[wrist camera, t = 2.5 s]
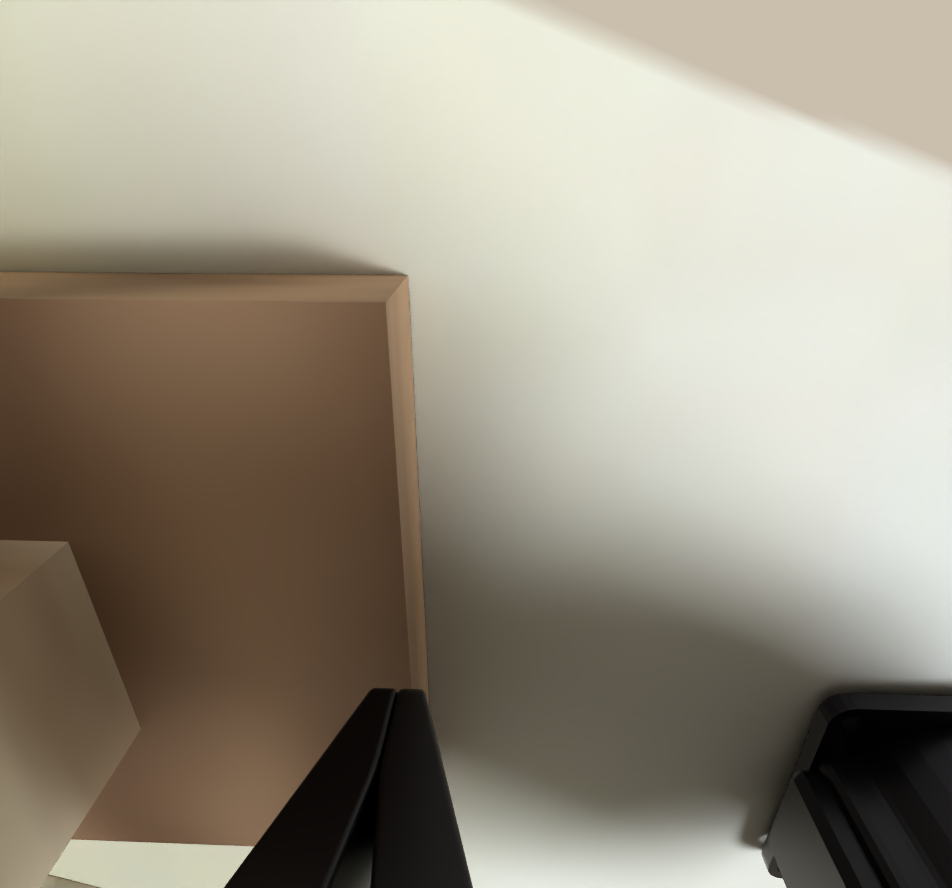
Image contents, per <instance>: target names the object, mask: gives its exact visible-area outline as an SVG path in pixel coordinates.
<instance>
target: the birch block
mask: <svg viewBox="0 0 952 888" xmlns="http://www.w3.org/2000/svg"><path fill="white" fill-rule="evenodd" d="M140 730H141V728H140V725H139V722H138V720H137V717H136V715H135V712H134V710H133V707H132V704H131V702H130V699H129V697H128V694H127V692H126V689H125V686H124V684H123V681H122V679H121V676H120V674H119V671H118V668H117V666H116V663H115V661H114V658H113V656H112V653H111V650H110V648H109V645H108V643H107V640H106V638H105V635H104V632H103V630H102V627H101V625H100V622H99V620H98V617H97V614H96V612H95V609H94V607H93V604H92V601H91V599H90V596H89V594H88V591H87V589H86V586H85V583H84V581H83V578H82V576H81V573H80V571H79V568H78V565H77V563H76V560H75V558H74V555H73V553H72V550H71V547H70V545H69V542H60V541H17V540H0V888H40V887H41V885H42V884H43V882H44V881H45V879H46V877H47V876H48V874H49V873H50V871H51V870H52V868H53V866H54V865H55V863H56V862H57V860H58V859H59V857H60V855H61V854H62V852H63V851H64V849H65V848H66V846H67V844H68V843H69V841H70V840H71V838H72V837H73V835H74V833H75V832H76V830H77V829H78V827H79V826H80V824H81V822H82V821H83V819H84V818H85V816H86V815H87V813H88V811H89V810H90V808H91V807H92V805H93V804H94V802H95V800H96V799H97V797H98V796H99V794H100V793H101V791H102V789H103V788H104V786H105V785H106V783H107V782H108V780H109V778H110V777H111V775H112V774H113V772H114V771H115V769H116V767H117V766H118V764H119V763H120V761H121V760H122V758H123V757H124V755H125V753H126V752H127V750H128V749H129V747H130V746H131V744H132V742H133V741H134V739H135V738H136V736H137V735H138V733H139V731H140Z"/></svg>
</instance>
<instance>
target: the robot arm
mask: <svg viewBox="0 0 952 888" xmlns="http://www.w3.org/2000/svg"><path fill="white" fill-rule="evenodd" d="M762 857H763V859H764V862H765V864H766V867H767V869H768V872H769V873H770V874H771V875H772V876H774V877H777V878H783V880H784V882H785V885H786V887H787V888H952V696H929V695H896V694H862V693H844V694H837V695H835V696H832V697H829V698H828V699H826V700H825V701H824V702H822V704H821V705H820V707H819V708H818V711H817V713H816V716H815V718H814V721H813V723H812V726H811V728H810V731H809V733H808V736H807V738H806V741H805V743H804V746H803V748H802V751H801V753H800V756H799V758H798V761H797V763H796V766H795V768H794V771H793V773H792V776H791V778H790V781H789V783H788V786H787V788H786V791H785V794H784V796H783V799H782V801H781V804H780V806H779V809H778V811H777V814H776V816H775V819H774V821H773V824H772V826H771V829H770V831H769V834H768V836H767V839H766V841H765V844H764V846H763V849H762ZM224 888H473V886H472V882H471V878H470V874H469V870H468V866H467V862H466V858H465V853H464V849H463V845H462V841H461V837H460V833H459V829H458V824H457V820H456V816H455V812H454V808H453V804H452V800H451V796H450V791H449V787H448V783H447V779H446V775H445V771H444V767H443V762H442V758H441V754H440V750H439V746H438V742H437V738H436V734H435V729H434V725H433V721H432V717H431V713H430V709H429V705H428V700H427V696H426V693H425V691H424V690H423V689H401V690H399V692H398V691H397V690H396V689H394V688H373V689H371V690H370V691H369V692H368V693H367V695H366V696H365V697H364V699H363V700H362V701H361V703H360V704H359V705H358V707H357V708H356V710H355V711H354V712H353V714H352V715H351V716H350V718H349V719H348V720H347V722H346V723H345V724H344V726H343V727H342V729H341V730H340V731H339V733H338V734H337V735H336V737H335V738H334V739H333V741H332V742H331V743H330V745H329V746H328V747H327V749H326V750H325V752H324V753H323V754H322V756H321V757H320V758H319V760H318V761H317V762H316V764H315V765H314V766H313V768H312V769H311V771H310V772H309V773H308V775H307V776H306V777H305V779H304V780H303V781H302V783H301V784H300V785H299V787H298V788H297V790H296V791H295V792H294V794H293V795H292V796H291V798H290V799H289V800H288V802H287V803H286V804H285V806H284V807H283V809H282V810H281V811H280V813H279V814H278V815H277V817H276V818H275V819H274V821H273V822H272V823H271V825H270V826H269V827H268V829H267V830H266V832H265V833H264V834H263V836H262V837H261V838H260V840H259V841H258V842H257V844H256V845H255V846H254V848H253V849H252V851H251V852H250V853H249V855H248V856H247V857H246V859H245V860H244V861H243V863H242V864H241V865H240V867H239V868H238V870H237V871H236V872H235V874H234V875H233V876H232V878H231V879H230V880H229V882H228V883H227V884H226V886H225V887H224Z"/></svg>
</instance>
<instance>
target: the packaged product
mask: <svg viewBox="0 0 952 888" xmlns="http://www.w3.org/2000/svg"><path fill="white" fill-rule="evenodd" d="M40 888H99V887H95V886H91V885H87V884H83V883H79V882H75V881H71V880H67V879H63V878H59V877H55V876H51V875H48V876H47V877H46V879H45V881H44V882H43V884H42V885H41V887H40Z"/></svg>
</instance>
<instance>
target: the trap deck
mask: <svg viewBox="0 0 952 888" xmlns="http://www.w3.org/2000/svg"><path fill="white" fill-rule="evenodd" d="M0 540H17V541H60V542H69V545H70V547H71V550H72V553H73V555H74V558H75V560H76V563H77V565H78V568H79V571H80V573H81V576H82V578H83V581H84V583H85V586H86V589H87V591H88V594H89V596H90V599H91V601H92V604H93V607H94V609H95V612H96V614H97V617H98V620H99V622H100V625H101V627H102V630H103V632H104V635H105V638H106V640H107V643H108V645H109V648H110V650H111V653H112V656H113V658H114V661H115V663H116V666H117V668H118V671H119V674H120V676H121V679H122V681H123V684H124V686H125V689H126V692H127V694H128V697H129V699H130V702H131V704H132V707H133V710H134V712H135V715H136V717H137V720H138V722H139V725H140V728H141V730H140V731H139V733H138V735H137V736H136V738H135V739H134V741H133V742H132V744H131V746H130V747H129V749H128V750H127V752H126V753H125V755H124V757H123V758H122V760H121V761H120V763H119V764H118V766H117V767H116V769H115V771H114V772H113V774H112V775H111V777H110V778H109V780H108V782H107V783H106V785H105V786H104V788H103V789H102V791H101V793H100V794H99V796H98V797H97V799H96V800H95V802H94V804H93V805H92V807H91V808H90V810H89V811H88V813H87V815H86V816H85V818H84V819H83V821H82V822H81V824H80V826H79V827H78V829H77V830H76V832H75V833H74V835H73V837H72V838H71V839H78V840H104V841H130V842H156V843H182V844H208V845H235V846H255V845H256V844H257V842H258V841H259V840H260V838H261V837H262V836H263V834H264V833H265V832H266V830H267V829H268V827H269V826H270V825H271V823H272V822H273V821H274V819H275V818H276V817H277V815H278V814H279V813H280V811H281V810H282V809H283V807H284V806H285V804H286V803H287V802H288V800H289V799H290V798H291V796H292V795H293V794H294V792H295V791H296V790H297V788H298V787H299V785H300V784H301V783H302V781H303V780H304V779H305V777H306V776H307V775H308V773H309V772H310V771H311V769H312V768H313V766H314V765H315V764H316V762H317V761H318V760H319V758H320V757H321V756H322V754H323V753H324V752H325V750H326V749H327V747H328V746H329V745H330V743H331V742H332V741H333V739H334V738H335V737H336V735H337V734H338V733H339V731H340V730H341V729H342V727H343V726H344V724H345V723H346V722H347V720H348V719H349V718H350V716H351V715H352V714H353V712H354V711H355V710H356V708H357V707H358V705H359V704H360V703H361V701H362V700H363V699H364V697H365V696H366V695H367V693H368V692H369V691H370V690H371V689H373V688H394V689H396V690H397V691H398V692H399V690H401V689H423V690H424V691H425V693H426V696H427V700H428V705H429V692H428V671H427V650H426V630H425V609H424V589H423V568H422V548H421V527H420V506H419V486H418V465H417V445H416V424H415V404H414V383H413V363H412V342H411V321H410V301H409V280H408V275H303V274H194V273H84V272H0Z"/></svg>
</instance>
